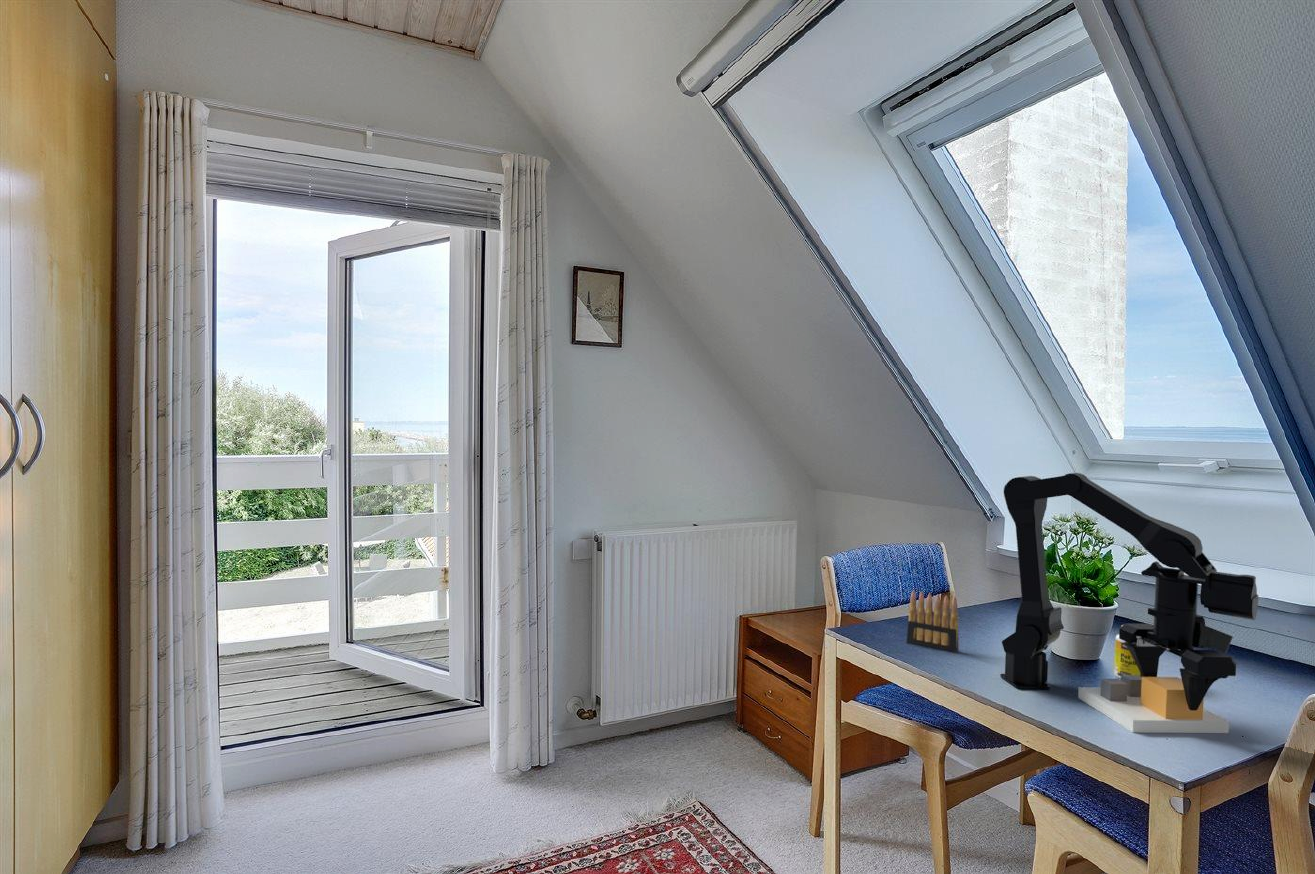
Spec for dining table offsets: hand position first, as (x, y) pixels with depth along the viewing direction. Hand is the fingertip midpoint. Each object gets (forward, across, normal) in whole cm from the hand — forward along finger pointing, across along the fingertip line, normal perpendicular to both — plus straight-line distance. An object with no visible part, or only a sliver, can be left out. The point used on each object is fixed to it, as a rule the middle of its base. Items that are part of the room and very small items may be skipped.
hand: (1171, 698), depth 118 cm
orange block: (+2, 0, 0) cm, 2 cm away
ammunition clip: (+4, +38, +24) cm, 46 cm away
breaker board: (+4, +4, +1) cm, 6 cm away
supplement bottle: (+4, +20, -8) cm, 22 cm away
